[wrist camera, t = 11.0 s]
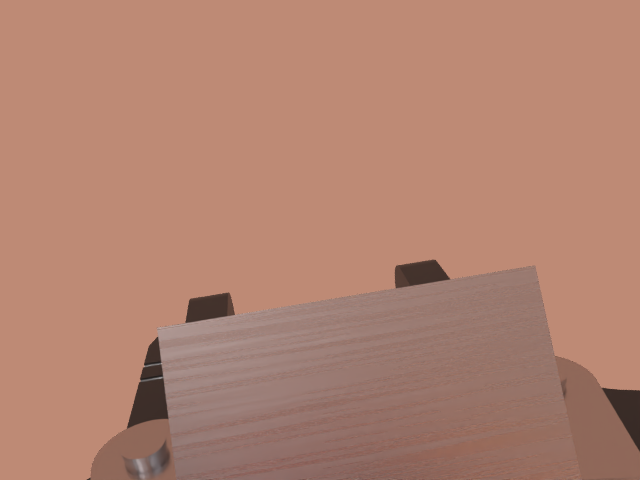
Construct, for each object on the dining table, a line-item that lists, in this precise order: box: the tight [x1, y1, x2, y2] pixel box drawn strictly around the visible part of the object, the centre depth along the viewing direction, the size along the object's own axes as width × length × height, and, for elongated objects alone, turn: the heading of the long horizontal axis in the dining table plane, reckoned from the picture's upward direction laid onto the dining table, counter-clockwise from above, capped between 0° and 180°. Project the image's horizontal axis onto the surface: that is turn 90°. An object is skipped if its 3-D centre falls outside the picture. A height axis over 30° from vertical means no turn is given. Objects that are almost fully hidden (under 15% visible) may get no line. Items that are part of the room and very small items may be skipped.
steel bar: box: [157, 266, 582, 480], centre depth 17 cm, size 24×3×3 cm, turn 5°
